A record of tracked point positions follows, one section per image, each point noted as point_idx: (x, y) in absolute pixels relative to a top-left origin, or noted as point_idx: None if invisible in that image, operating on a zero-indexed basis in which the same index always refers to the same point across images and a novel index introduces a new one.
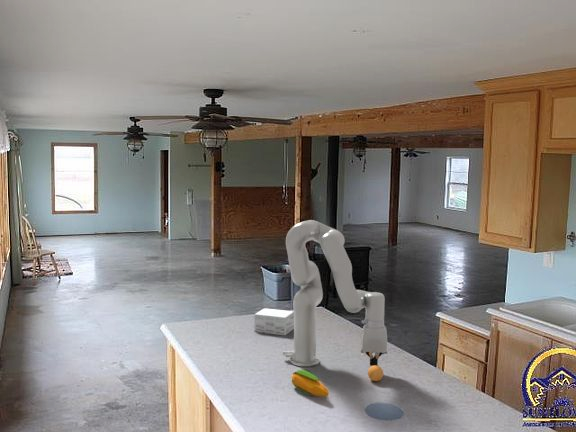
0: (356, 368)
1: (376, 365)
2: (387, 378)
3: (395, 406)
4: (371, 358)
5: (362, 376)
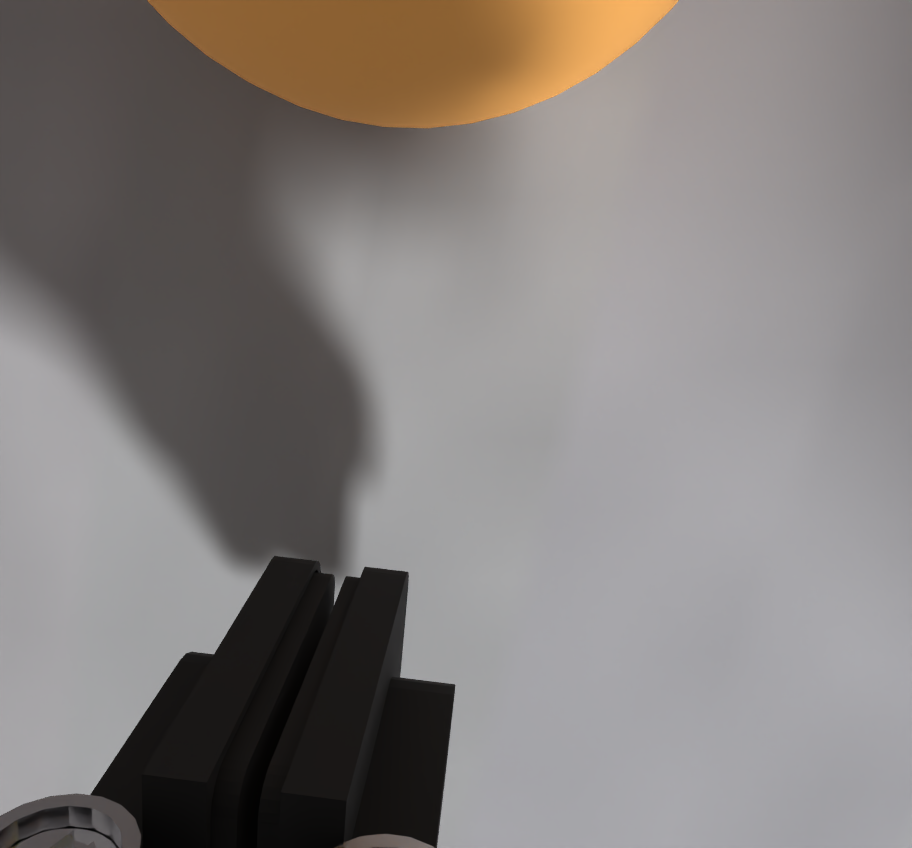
0: (780, 825)
1: None
2: (19, 83)
3: None
4: (380, 845)
5: (784, 252)
